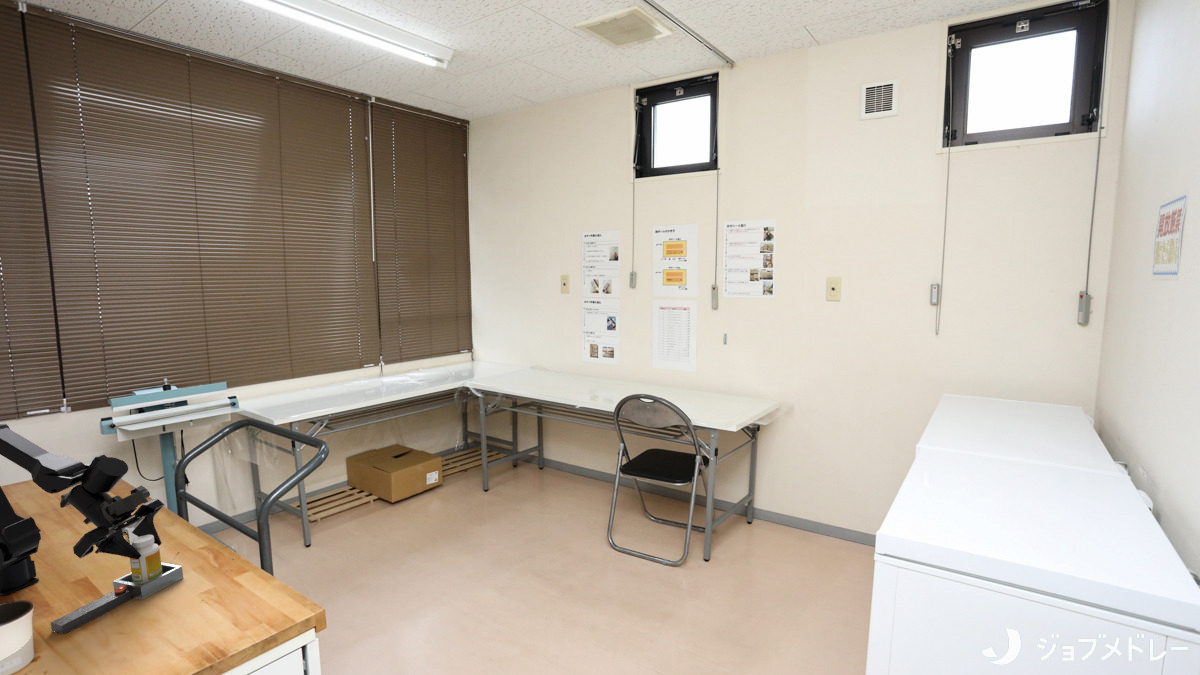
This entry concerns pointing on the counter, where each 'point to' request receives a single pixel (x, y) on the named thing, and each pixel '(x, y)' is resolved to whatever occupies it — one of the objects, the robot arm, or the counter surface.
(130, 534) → the adjustable wrench
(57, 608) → the counter surface
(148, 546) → the supplement bottle
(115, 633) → the counter surface
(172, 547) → the counter surface
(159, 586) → the grey rectangular scoop
